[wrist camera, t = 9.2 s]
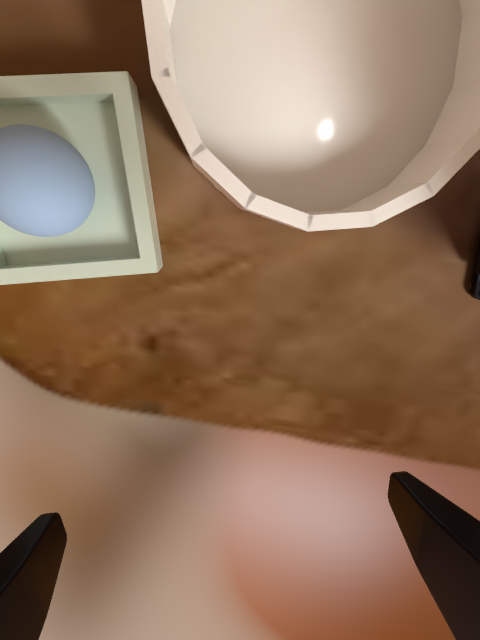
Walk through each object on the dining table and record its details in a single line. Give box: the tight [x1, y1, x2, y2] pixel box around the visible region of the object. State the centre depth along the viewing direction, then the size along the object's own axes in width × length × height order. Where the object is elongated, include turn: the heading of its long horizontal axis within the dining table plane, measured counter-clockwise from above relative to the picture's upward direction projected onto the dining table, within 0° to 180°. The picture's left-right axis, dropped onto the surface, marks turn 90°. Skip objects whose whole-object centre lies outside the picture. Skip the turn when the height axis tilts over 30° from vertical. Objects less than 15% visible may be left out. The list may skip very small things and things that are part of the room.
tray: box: [0, 71, 163, 285], centre depth 16 cm, size 9×9×2 cm
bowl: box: [141, 0, 480, 231], centre depth 14 cm, size 15×15×4 cm
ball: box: [0, 124, 95, 237], centre depth 14 cm, size 5×5×5 cm
